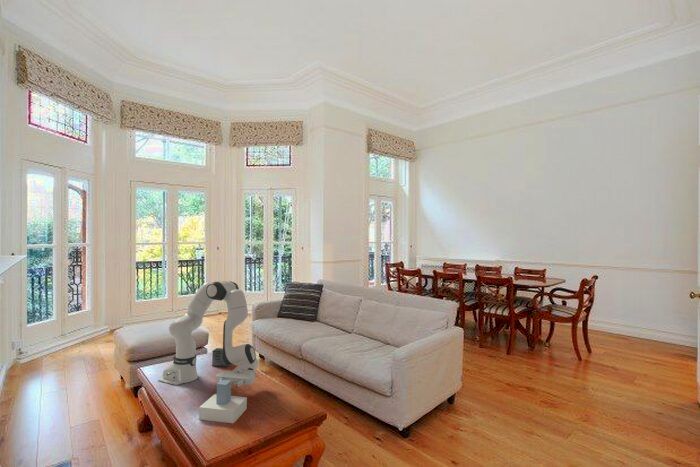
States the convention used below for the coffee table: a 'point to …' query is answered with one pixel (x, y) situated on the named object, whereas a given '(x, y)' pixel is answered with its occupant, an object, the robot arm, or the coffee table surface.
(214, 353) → the small box
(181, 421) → the coffee table surface
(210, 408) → the base
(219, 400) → the slate block
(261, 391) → the coffee table surface
